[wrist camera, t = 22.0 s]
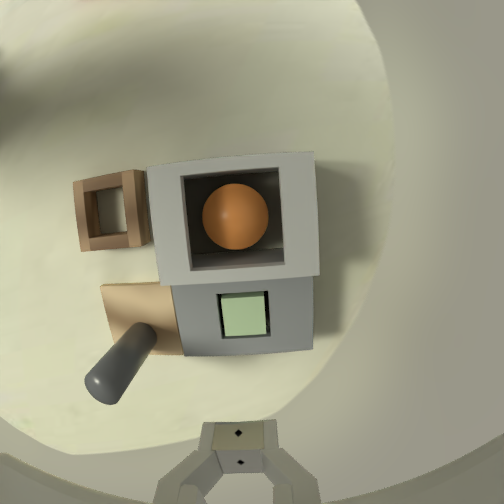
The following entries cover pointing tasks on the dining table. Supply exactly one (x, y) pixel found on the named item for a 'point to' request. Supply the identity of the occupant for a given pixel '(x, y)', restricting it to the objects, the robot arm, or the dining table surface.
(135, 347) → the grey rounded rod
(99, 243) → the stand
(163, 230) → the grey boxy piece
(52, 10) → the dining table surface
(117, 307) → the pad
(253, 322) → the on button
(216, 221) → the plunger
